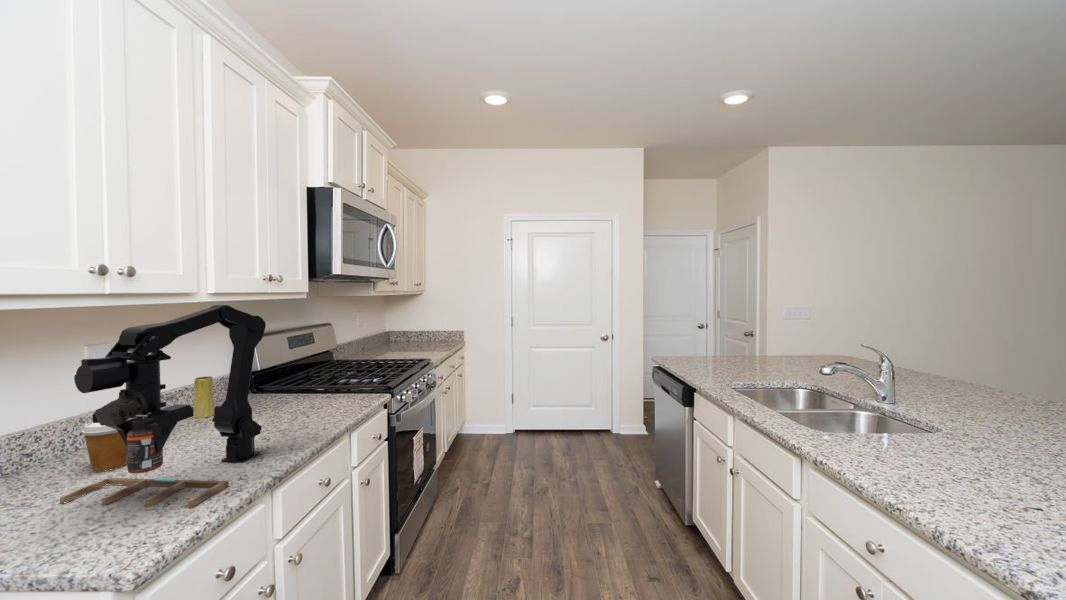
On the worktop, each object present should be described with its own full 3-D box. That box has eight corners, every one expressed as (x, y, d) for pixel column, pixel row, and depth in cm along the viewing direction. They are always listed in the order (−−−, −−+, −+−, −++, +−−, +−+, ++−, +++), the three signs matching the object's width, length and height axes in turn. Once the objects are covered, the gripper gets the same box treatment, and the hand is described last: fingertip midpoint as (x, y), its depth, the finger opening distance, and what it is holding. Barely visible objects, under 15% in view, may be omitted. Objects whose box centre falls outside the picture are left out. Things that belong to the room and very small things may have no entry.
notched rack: (109, 482, 101) (109, 476, 101) (228, 486, 99) (228, 479, 99) (60, 504, 91) (59, 497, 91) (191, 508, 89) (191, 501, 89)
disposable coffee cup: (136, 466, 110) (135, 421, 110) (83, 478, 103) (82, 430, 103) (132, 457, 116) (131, 414, 116) (82, 468, 109) (81, 422, 109)
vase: (189, 417, 153) (188, 378, 153) (206, 412, 159) (206, 375, 159) (201, 418, 152) (201, 379, 151) (218, 414, 158) (218, 376, 157)
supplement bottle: (156, 472, 92) (154, 421, 92) (121, 476, 90) (119, 424, 90) (168, 461, 98) (166, 414, 98) (135, 466, 96) (134, 417, 96)
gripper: (62, 390, 86) (64, 465, 87) (146, 391, 85) (149, 467, 85) (119, 379, 97) (121, 445, 98) (194, 379, 96) (196, 447, 97)
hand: (145, 451), depth 94 cm, fingers closed on supplement bottle, 6 cm apart
